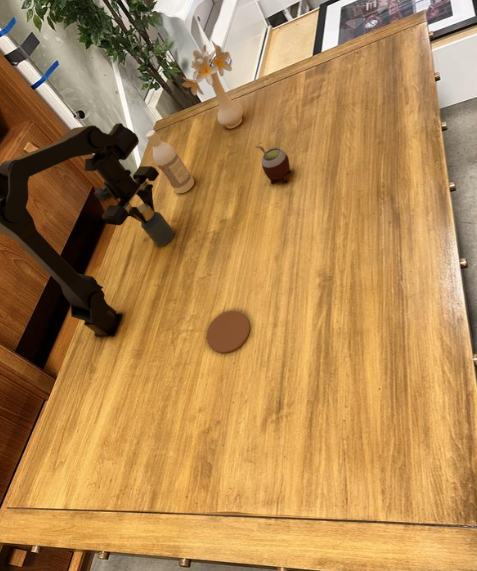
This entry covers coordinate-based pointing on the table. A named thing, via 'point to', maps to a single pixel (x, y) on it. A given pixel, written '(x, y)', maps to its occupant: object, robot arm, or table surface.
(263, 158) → the mate gourd
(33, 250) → the robot arm
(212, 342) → the coaster
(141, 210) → the cap
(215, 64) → the flower vase
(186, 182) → the bath foam
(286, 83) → the table surface
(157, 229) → the bottle
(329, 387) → the table surface
